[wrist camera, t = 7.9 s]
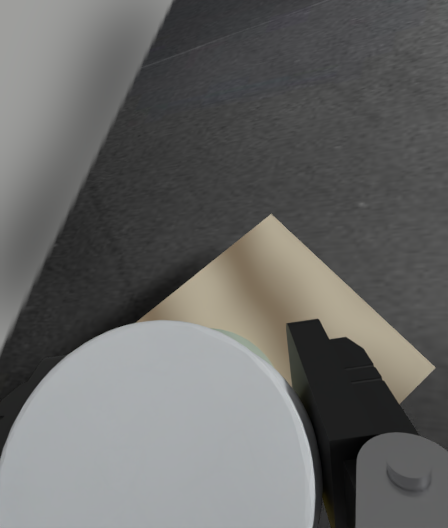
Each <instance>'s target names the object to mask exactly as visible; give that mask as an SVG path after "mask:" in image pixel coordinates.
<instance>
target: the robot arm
mask: <svg viewBox="0 0 448 528" xmlns="http://www.w3.org/2000/svg"><path fill="white" fill-rule="evenodd" d="M286 334H287V344H288V353H289V362H290V372H291V381H292V388H293V390H294V391H295V392H296V394H297V395H298V397H299V399H300V400H301V402H302V404H303V406H304V408H305V409H306V411H307V413H308V416H309V418H310V420H311V423H312V426H313V429H314V432H315V436H316V440H317V445H318V449H319V454H320V460H321V466H322V475H323V493H322V498H323V501H324V505H325V508H326V512H327V515H328V519H329V522H330V526H331V528H448V451H446V450H445V449H444V448H442V447H441V446H440V445H438V444H436V443H434V442H433V441H431V440H429V439H426V438H424V437H421V436H419V434H418V433H417V431H416V430H415V428H414V427H413V425H412V423H411V422H410V420H409V419H408V417H407V416H406V414H405V412H404V411H403V409H402V408H401V406H400V405H399V403H398V402H397V400H396V398H395V397H394V395H393V394H392V392H391V391H390V389H389V387H388V386H387V384H386V383H385V381H383V380H382V376H381V375H380V373H379V372H378V370H377V369H376V367H374V365H373V362H372V361H371V359H370V358H369V356H368V355H367V353H366V351H365V350H364V348H362V347H361V346H359V345H358V344H356V343H355V342H353V341H352V340H350V339H349V338H347V337H341V338H334V339H329V338H328V336H327V334H326V332H325V330H324V328H323V326H322V324H321V322H320V320H319V319H312V320H305V321H298V322H291V323H286ZM67 355H68V354H67ZM67 355H61V356H54V357H47V358H44V359H43V360H42V361H41V362H40V364H39V365H38V367H37V368H36V370H35V371H34V373H33V374H32V376H31V377H30V379H29V380H28V382H25V383H22V384H20V385H19V386H18V387H17V388H16V389H14V390H13V391H12V392H11V393H10V394H8V395H7V396H6V397H5V398H4V399H2V401H1V402H0V458H1V454H2V451H3V447H4V445H5V443H6V440H7V438H8V435H9V432H10V430H11V428H12V426H13V424H14V421H15V420H16V418H17V416H18V414H19V413H20V411H21V409H22V407H23V405H24V404H25V402H26V401H27V399H28V398H29V396H30V395H31V393H32V392H33V391H34V389H35V388H36V387H37V385H38V384H39V383H40V382H41V381H42V379H43V378H44V377H45V376H46V375H47V374H48V373H49V371H50V370H51V369H52V368H54V367H55V366H56V365H57V364H58V363H59V362H60V361H61V360H62V359H63V358H65V357H66V356H67Z"/></svg>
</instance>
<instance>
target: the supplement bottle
mask: <svg viewBox="0 0 448 528" xmlns="http://www.w3.org/2000/svg"><path fill="white" fill-rule="evenodd" d="M322 493H323V475H322V466H321V460H320V454H319V449H318V445H317V440H316V436H315V432H314V429H313V426H312V423H311V420H310V418H309V416H308V413H307V411H306V409H305V408H304V406H303V404H302V402H301V400H300V399H299V397H298V395H297V394H296V392H295V391H294V390H293V388H292V387H291V386H290V385H289V383H288V382H287V381H286V380H285V379H284V378H283V376H282V375H281V374H280V373H279V372H278V371H277V370H276V369H274V368H273V367H272V366H271V365H270V364H269V363H267V362H266V361H265V360H263V359H262V358H261V357H259V356H258V355H256V354H255V353H253V352H252V351H250V350H249V349H248V348H247V347H245V346H244V345H242V344H240V343H239V342H237V341H236V340H234V339H233V338H231V337H229V336H227V335H225V334H223V333H221V332H219V331H216V330H213V329H210V328H208V327H205V326H201V325H198V324H194V323H189V322H183V321H172V320H154V321H145V322H138V323H133V324H129V325H125V326H121V327H118V328H115V329H112V330H110V331H107V332H105V333H103V334H101V335H99V336H97V337H95V338H93V339H91V340H89V341H88V342H86V343H84V344H83V345H81V346H80V347H78V348H77V349H75V350H74V351H73V352H71V353H70V354H68V355H67V356H66V357H65V358H63V359H62V360H61V361H60V362H59V363H58V364H57V365H56V366H55V367H54V368H52V369H51V370H50V371H49V373H48V374H47V375H46V376H45V377H44V378H43V379H42V381H41V382H40V383H39V384H38V385H37V387H36V388H35V389H34V391H33V392H32V393H31V395H30V396H29V398H28V399H27V401H26V402H25V404H24V405H23V407H22V409H21V411H20V413H19V414H18V416H17V418H16V420H15V421H14V424H13V426H12V428H11V430H10V432H9V435H8V438H7V440H6V443H5V445H4V447H3V451H2V454H1V458H0V528H317V527H318V523H319V518H320V511H321V505H322Z"/></svg>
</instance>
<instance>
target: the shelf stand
mask: <svg viewBox="0 0 448 528" xmlns="http://www.w3.org/2000/svg"><path fill="white" fill-rule="evenodd" d="M312 319H319V320H320V322H321V324H322V326H323V328H324V330H325V332H326V334H327V336H328V338H329V339H334V338H341V337H347V338H349V339H350V340H352V341H353V342H355V343H356V344H358V345H359V346H361V347H362V348H364V350H365V351H366V353H367V355H368V356H369V358H370V359H371V361H372V362H373V365H374V367H376V369H377V370H378V372H379V373H380V375H381V376H382V380H383V381H385V383H386V384H387V386H388V387H389V389H390V391H391V392H392V394H393V395H394V397H395V398H396V400H397V402H398V403H399V404H400V403H401V402H402V401H403V400H404V399H405V398H406V397H407V396H408V395H409V394H410V393H411V392H412V391H413V390H414V389H415V388H416V387H417V386H418V385H419V384H420V383H421V382H422V381H423V380H424V379H425V378H426V377H427V376H428V375H429V374H430V373H431V372H432V371H433V370H434V369H435V368H436V367H434V366H433V365H432V364H431V363H430V362H429V361H428V360H427V359H426V358H425V357H424V356H423V355H422V354H421V353H419V352H418V351H417V350H416V349H415V348H414V347H413V346H412V345H411V344H410V343H409V342H408V341H407V340H406V339H404V338H403V337H402V336H401V335H400V334H399V333H398V332H397V331H396V330H395V329H394V328H393V327H392V326H391V325H389V324H388V323H387V322H386V321H385V320H384V319H383V318H382V317H381V316H380V315H379V314H378V313H377V312H376V311H374V310H373V309H372V308H371V307H370V306H369V305H368V304H367V303H366V302H365V301H364V300H363V299H362V298H361V297H359V296H358V295H357V294H356V293H355V292H354V291H353V290H352V289H351V288H350V287H349V286H348V285H347V284H346V283H344V282H343V281H342V280H341V279H340V278H339V277H338V276H337V275H336V274H335V273H334V272H333V271H332V270H331V269H329V268H328V267H327V266H326V265H325V264H324V263H323V262H322V261H321V260H320V259H319V258H318V257H317V256H316V255H314V254H313V253H312V252H311V251H310V250H309V249H308V248H307V247H306V246H305V245H304V244H303V243H302V242H300V241H299V240H298V239H297V238H296V237H295V236H294V235H293V234H292V233H291V232H290V231H289V230H288V229H287V228H285V227H284V226H283V225H282V224H281V223H280V222H279V221H278V220H277V219H276V218H275V217H274V216H273V215H272V214H271V215H269V216H268V217H267V218H266V219H264V220H263V221H262V222H261V223H259V224H258V225H257V226H256V227H254V228H253V229H252V230H251V231H249V232H248V233H247V234H246V235H244V236H243V237H242V238H241V239H239V240H238V241H237V242H236V243H234V244H233V245H232V246H231V247H229V248H228V249H227V250H226V251H224V252H223V253H222V254H221V255H219V256H218V257H217V258H216V259H214V260H213V261H212V262H211V263H209V264H208V265H207V266H206V267H204V268H203V269H202V270H201V271H200V272H198V273H197V274H196V275H195V276H193V277H192V278H191V279H190V280H188V281H187V282H186V283H185V284H183V285H182V286H181V287H180V288H178V289H177V290H176V291H175V292H173V293H172V294H171V295H170V296H168V297H167V298H166V299H165V300H163V301H162V302H161V303H160V304H158V305H157V306H156V307H155V308H153V309H152V310H151V311H150V312H148V313H147V314H146V315H145V316H143V317H142V318H141V319H140V320H138V321H137V322H136V323H138V322H145V321H154V320H172V321H183V322H189V323H194V324H198V325H201V326H205V327H208V328H210V329H213V330H216V331H219V332H221V333H223V334H225V335H227V336H229V337H231V338H233V339H234V340H236V341H237V342H239V343H240V344H242V345H244V346H245V347H247V348H248V349H249V350H250V351H252V352H253V353H255V354H256V355H258V356H259V357H261V358H262V359H263V360H265V361H266V362H267V363H269V364H270V365H271V366H272V367H273V368H274V369H276V370H277V371H278V372H279V373H280V374H281V375H282V376H283V378H284V379H285V380H286V381H287V382H288V383H289V385H290V386H291V387H292V381H291V372H290V362H289V353H288V344H287V334H286V323H291V322H298V321H305V320H312Z"/></svg>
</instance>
